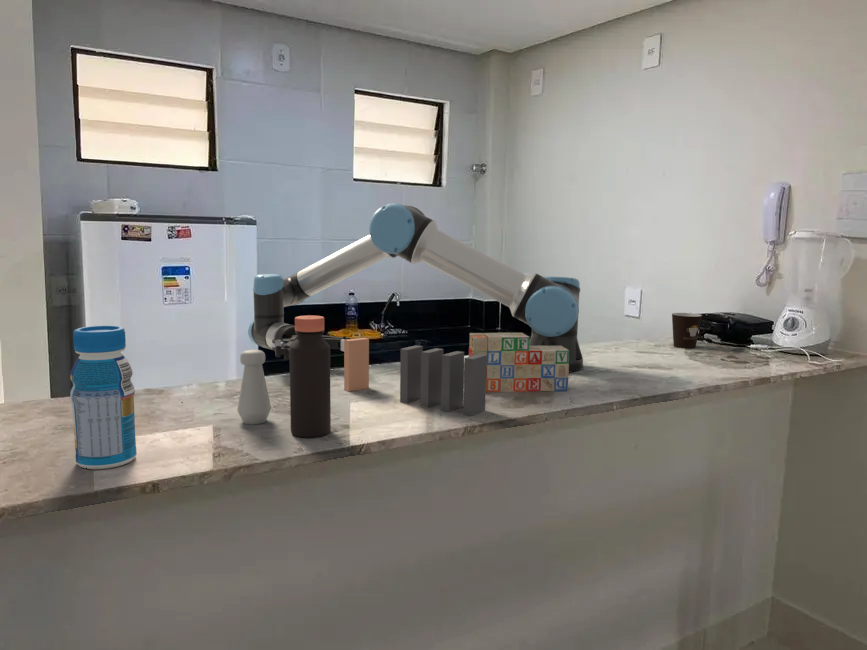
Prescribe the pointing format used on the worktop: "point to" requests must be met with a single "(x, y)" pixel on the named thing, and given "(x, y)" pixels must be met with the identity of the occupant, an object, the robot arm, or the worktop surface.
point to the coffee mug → (686, 329)
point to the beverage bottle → (102, 399)
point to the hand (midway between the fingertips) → (332, 352)
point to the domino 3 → (452, 381)
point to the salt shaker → (253, 389)
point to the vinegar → (310, 379)
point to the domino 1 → (410, 374)
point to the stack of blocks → (520, 363)
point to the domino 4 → (474, 384)
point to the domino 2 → (431, 377)
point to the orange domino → (356, 364)
